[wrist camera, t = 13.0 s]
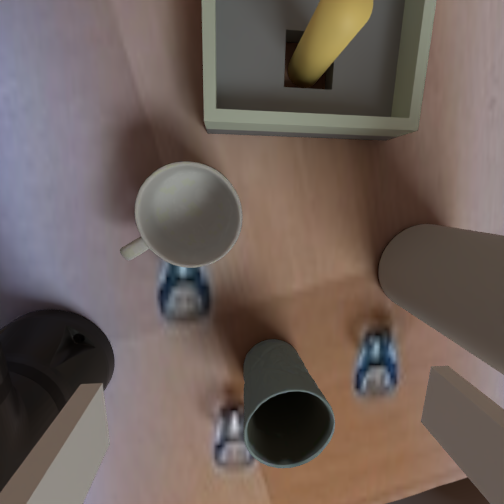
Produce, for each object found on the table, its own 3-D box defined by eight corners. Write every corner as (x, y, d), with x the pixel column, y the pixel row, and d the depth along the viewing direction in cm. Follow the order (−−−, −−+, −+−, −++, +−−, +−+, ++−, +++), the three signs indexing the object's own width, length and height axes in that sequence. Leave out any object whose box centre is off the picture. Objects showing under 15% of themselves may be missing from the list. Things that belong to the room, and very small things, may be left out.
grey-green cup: (244, 398, 42) (252, 477, 30) (232, 340, 40) (235, 402, 28) (308, 383, 43) (339, 456, 31) (299, 325, 40) (330, 381, 29)
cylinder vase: (399, 210, 38) (714, 247, 13) (471, 239, 40) (856, 316, 16) (362, 291, 40) (575, 448, 16) (432, 315, 42) (716, 485, 18)
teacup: (221, 155, 34) (220, 145, 26) (249, 236, 36) (256, 248, 29) (115, 192, 34) (82, 193, 26) (151, 271, 36) (131, 293, 28)
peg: (288, 49, 32) (325, -31, 20) (321, 51, 32) (376, -27, 21) (287, 87, 33) (321, 30, 21) (319, 89, 33) (370, 34, 22)
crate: (207, 133, 33) (203, 121, 27) (204, -47, 29) (199, -106, 23) (386, 140, 35) (417, 130, 30) (405, -26, 31) (446, -75, 26)
